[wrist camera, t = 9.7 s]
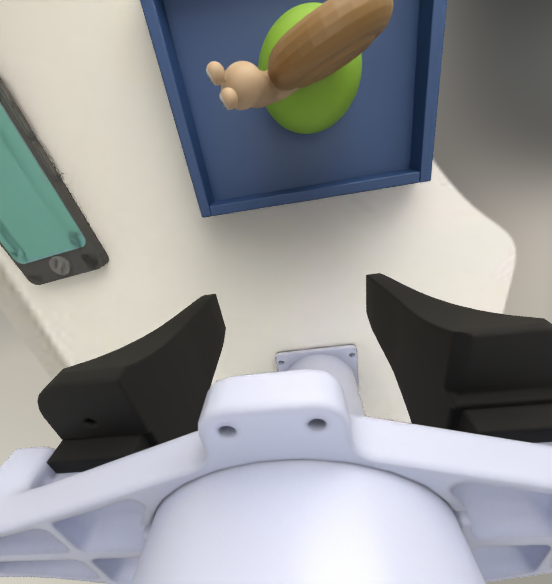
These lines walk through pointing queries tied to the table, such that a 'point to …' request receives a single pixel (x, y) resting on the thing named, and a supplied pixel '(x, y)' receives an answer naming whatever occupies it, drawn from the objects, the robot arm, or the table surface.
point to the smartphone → (39, 207)
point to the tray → (278, 140)
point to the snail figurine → (306, 64)
